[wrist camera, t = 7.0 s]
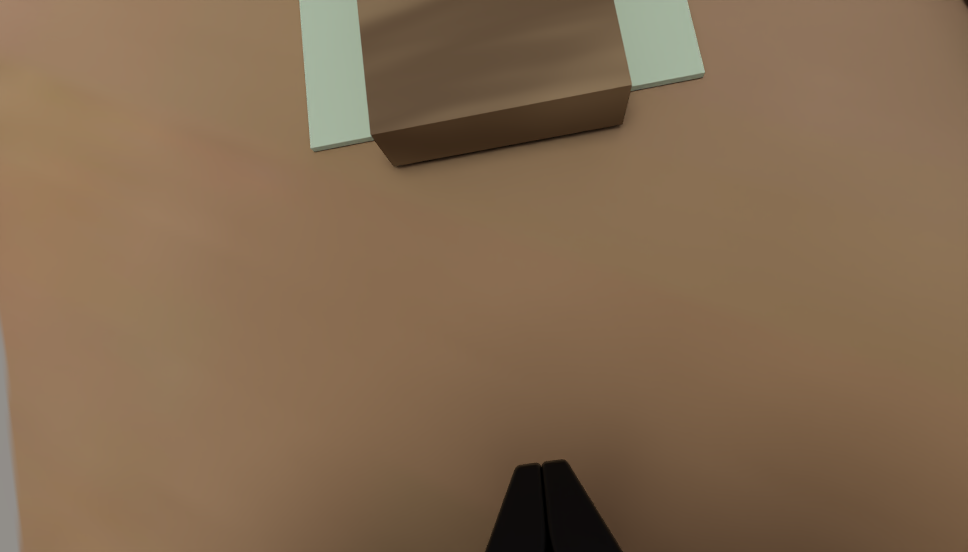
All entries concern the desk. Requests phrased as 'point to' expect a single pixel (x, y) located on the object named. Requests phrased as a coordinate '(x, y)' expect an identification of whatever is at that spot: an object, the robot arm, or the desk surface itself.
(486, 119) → the walnut plaque
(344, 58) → the green mat
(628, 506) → the desk surface
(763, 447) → the desk surface
